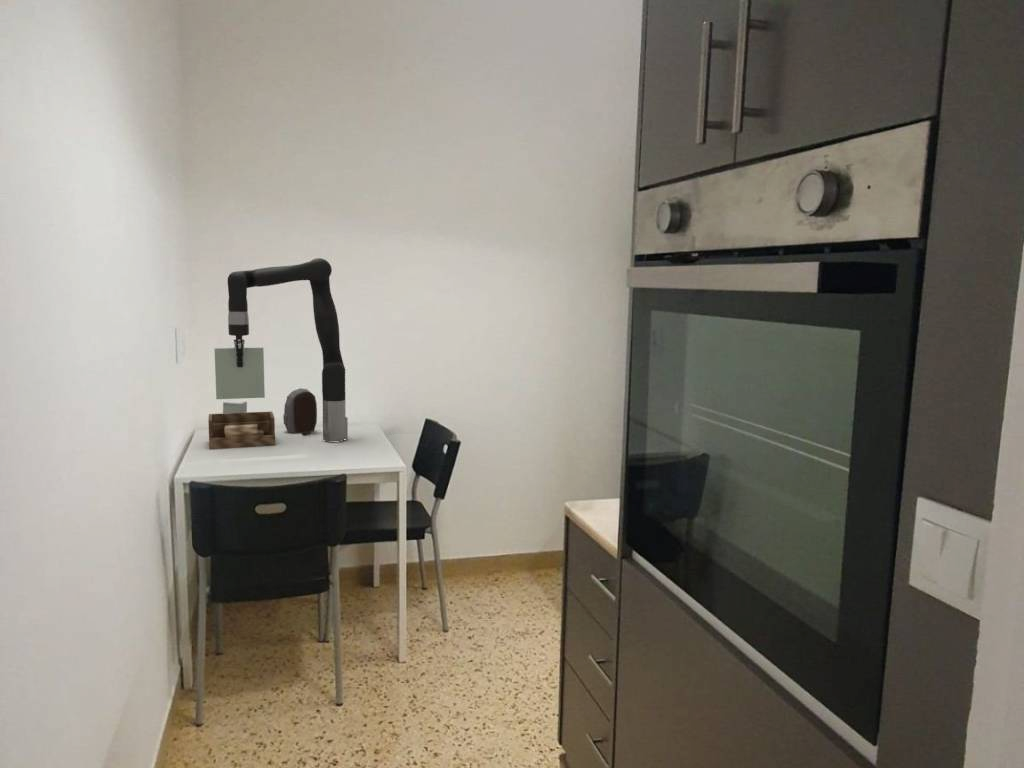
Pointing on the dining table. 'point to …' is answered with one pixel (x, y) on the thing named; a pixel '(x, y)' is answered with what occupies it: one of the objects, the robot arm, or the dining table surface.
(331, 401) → the robot arm
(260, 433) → the offcut middle
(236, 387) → the sheet
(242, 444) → the rack
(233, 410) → the skincare box
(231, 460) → the dining table surface
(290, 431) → the grey rounded bag
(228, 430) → the offcut top
